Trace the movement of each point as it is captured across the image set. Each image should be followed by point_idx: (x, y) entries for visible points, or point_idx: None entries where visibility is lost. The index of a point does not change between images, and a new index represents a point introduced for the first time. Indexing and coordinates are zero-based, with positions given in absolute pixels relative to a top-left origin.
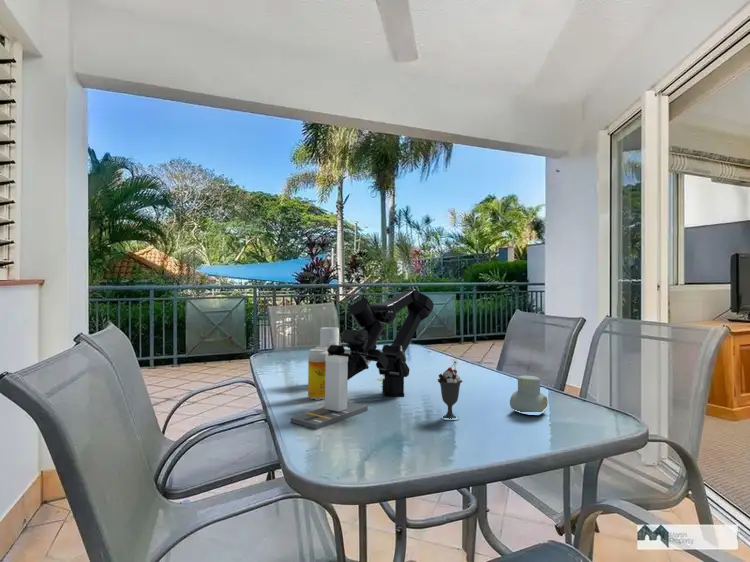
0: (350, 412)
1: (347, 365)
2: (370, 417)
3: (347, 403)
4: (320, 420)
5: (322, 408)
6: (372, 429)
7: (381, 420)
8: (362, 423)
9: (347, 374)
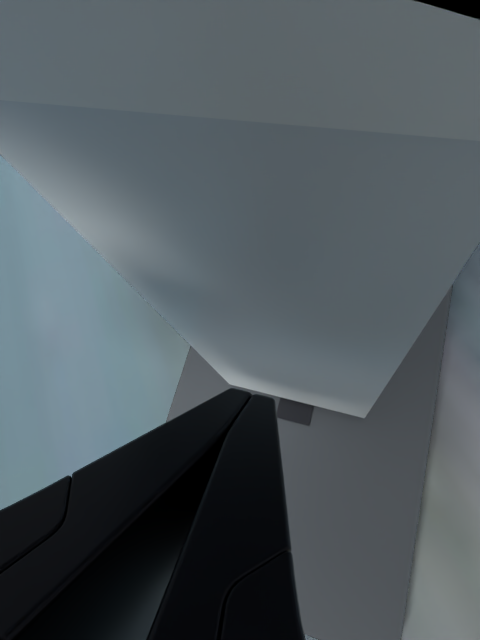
0: (190, 347)
1: (19, 167)
2: (79, 397)
3: (313, 589)
4: None
5: (426, 352)
6: (33, 219)
7: (10, 367)
8: (97, 276)
9: (115, 268)
